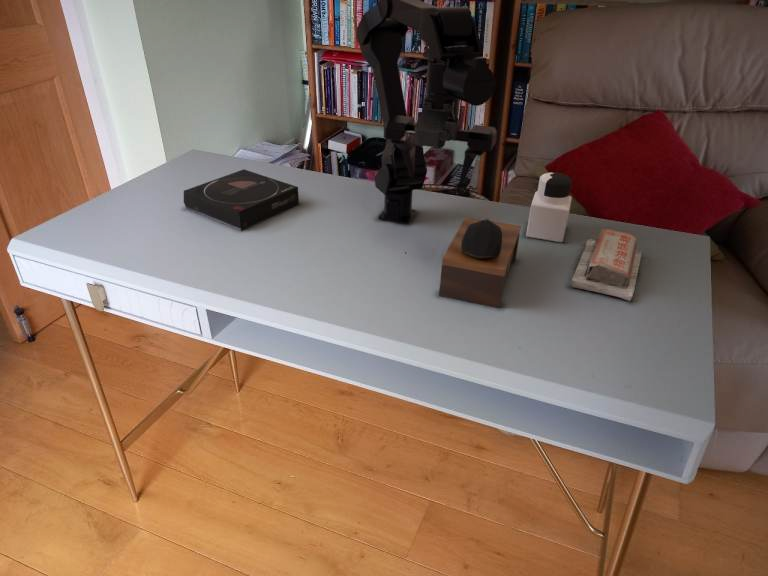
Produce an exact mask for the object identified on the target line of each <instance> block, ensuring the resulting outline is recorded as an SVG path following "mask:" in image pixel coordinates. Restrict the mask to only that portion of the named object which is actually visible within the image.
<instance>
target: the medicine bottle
mask: <svg viewBox="0 0 768 576" xmlns="http://www.w3.org/2000/svg"><path fill="white" fill-rule="evenodd" d="M572 184H573V180H572V178H571V177H570V176H568V175H566V174H564V173H561V172H554V171H551V172H546V173H543V174H542V175H540V176H539V181H538V186H537V190H536V191H535V192H534V195H533V198H532V201H531V204H530V209H529V215H528V221H527V227H526V233H525V236H526V238H531V239H536V240H537V239H538V240H543V241H549V242H556V243H563V242H564V239H565V234H566V230H567V224H568V220H569V216H570V211H571V205H572V200H573V197H572V196H571V195H570V194H571V189H572V186H573V185H572Z"/></svg>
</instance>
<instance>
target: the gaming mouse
mask: <svg viewBox="0 0 768 576" xmlns="http://www.w3.org/2000/svg"><path fill="white" fill-rule="evenodd" d="M491 221H492V220H489V218H484V219H482V221H479V222H476V223H473V224H470V225H469V226H468V227H467V229H466V231H465V234H464V236H463V239H462V243H461V248H462V251H463V252H465V253H467V254H469V255H471V256H473V257H478V258H489V257H495V256H498V254H499V253H500V251H501V245H502V231H501V228H500V227H499V226H497V225H496V224H494V223H493V222H491Z"/></svg>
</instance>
